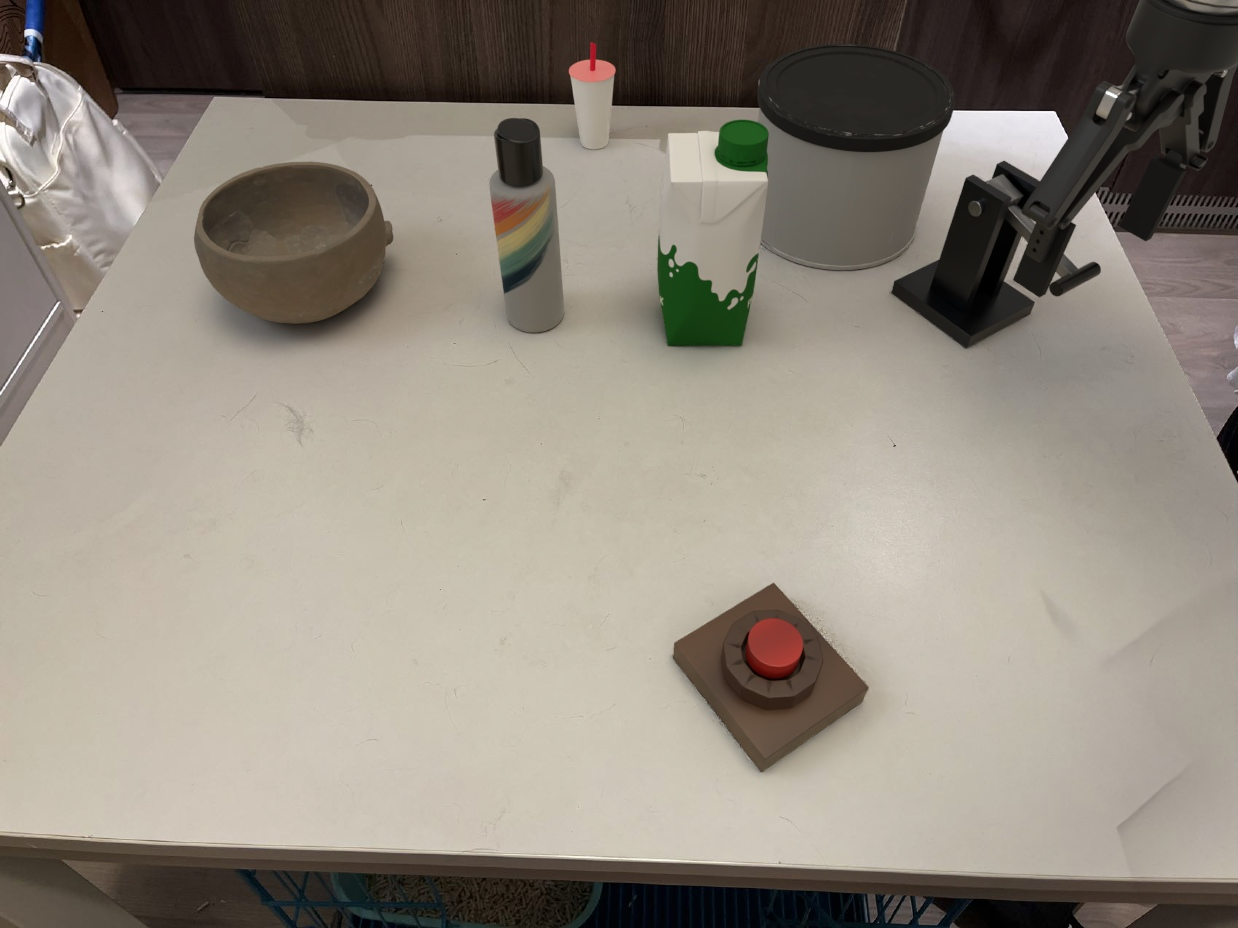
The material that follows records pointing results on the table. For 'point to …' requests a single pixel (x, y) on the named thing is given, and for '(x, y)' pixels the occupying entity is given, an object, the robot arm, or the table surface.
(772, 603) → the control block
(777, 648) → the red push button
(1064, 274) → the lever handle
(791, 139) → the container
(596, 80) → the cup
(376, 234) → the bowl
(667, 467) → the table surface
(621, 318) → the table surface
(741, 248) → the milk carton
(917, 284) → the black lever switch
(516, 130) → the lotion bottle
